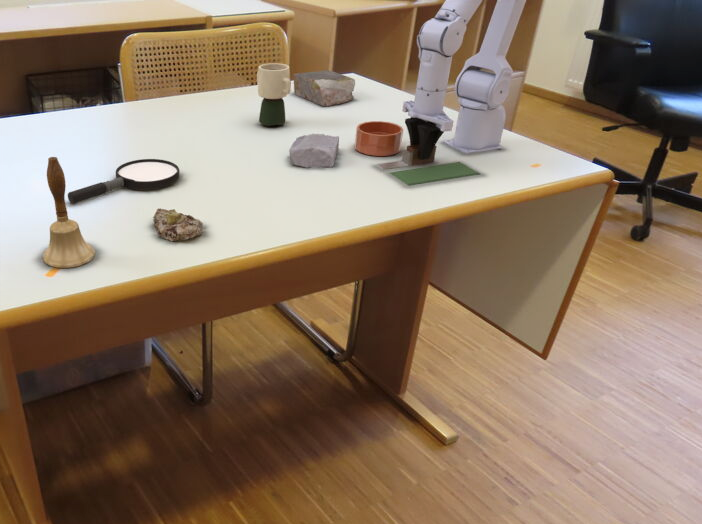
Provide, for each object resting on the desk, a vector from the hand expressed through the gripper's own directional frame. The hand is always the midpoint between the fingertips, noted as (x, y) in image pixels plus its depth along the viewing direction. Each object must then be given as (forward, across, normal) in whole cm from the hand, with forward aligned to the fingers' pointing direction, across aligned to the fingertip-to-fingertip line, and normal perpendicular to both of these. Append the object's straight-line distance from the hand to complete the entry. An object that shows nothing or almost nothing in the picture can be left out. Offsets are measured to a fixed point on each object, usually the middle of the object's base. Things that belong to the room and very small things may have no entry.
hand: (420, 156), depth 141 cm
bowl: (+1, -10, -4) cm, 11 cm away
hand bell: (+2, +16, -75) cm, 77 cm away
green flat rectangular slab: (+1, +7, -1) cm, 7 cm away
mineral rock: (+2, +12, -56) cm, 58 cm away
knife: (+1, 0, -3) cm, 4 cm away
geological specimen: (+2, -50, +4) cm, 51 cm away
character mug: (+2, -34, -18) cm, 39 cm away
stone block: (+2, -10, -19) cm, 22 cm away
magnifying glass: (+2, -10, -60) cm, 61 cm away
